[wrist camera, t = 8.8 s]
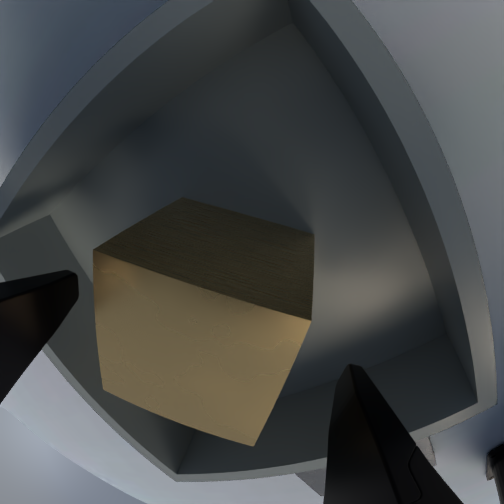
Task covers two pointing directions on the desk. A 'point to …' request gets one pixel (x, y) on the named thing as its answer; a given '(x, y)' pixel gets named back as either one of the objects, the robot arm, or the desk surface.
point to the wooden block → (203, 315)
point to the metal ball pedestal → (319, 475)
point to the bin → (265, 215)
